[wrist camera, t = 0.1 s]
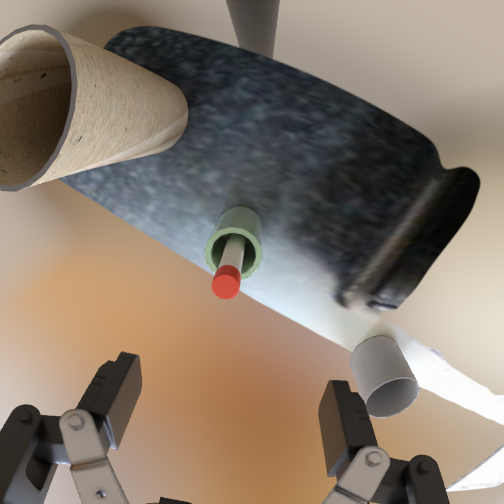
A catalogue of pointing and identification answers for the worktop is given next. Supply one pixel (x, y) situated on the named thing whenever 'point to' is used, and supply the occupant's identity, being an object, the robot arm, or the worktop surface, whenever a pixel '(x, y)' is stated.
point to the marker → (230, 268)
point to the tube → (77, 108)
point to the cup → (383, 377)
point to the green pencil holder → (240, 223)
